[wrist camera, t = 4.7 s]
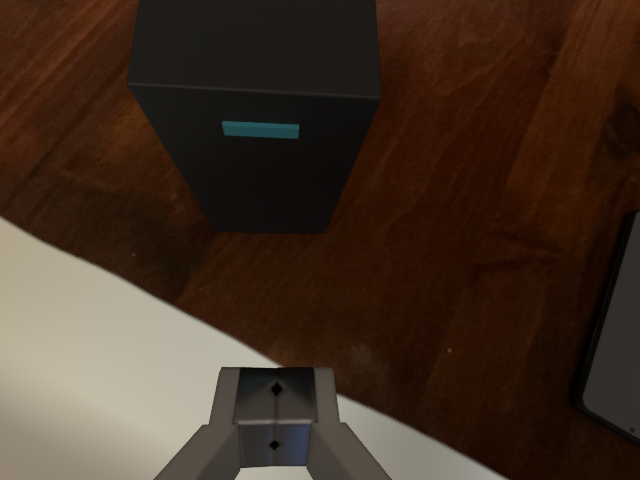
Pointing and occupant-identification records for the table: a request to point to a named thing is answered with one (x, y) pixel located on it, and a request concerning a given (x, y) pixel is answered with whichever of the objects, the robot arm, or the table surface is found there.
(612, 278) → the smartphone
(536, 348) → the table surface
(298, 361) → the table surface
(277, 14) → the black power bank
